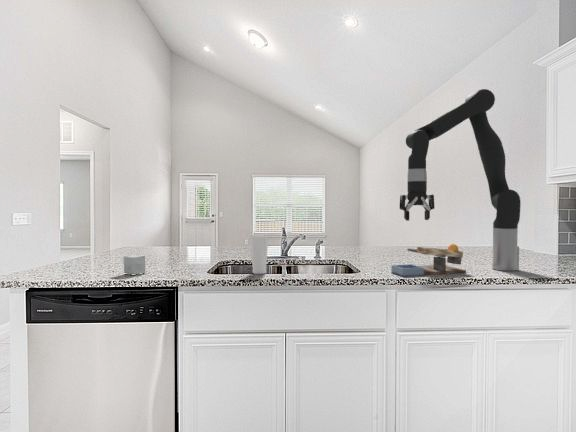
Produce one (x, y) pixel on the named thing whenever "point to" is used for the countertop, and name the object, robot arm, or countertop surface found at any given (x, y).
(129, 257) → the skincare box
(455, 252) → the lever
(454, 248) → the ball
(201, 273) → the countertop surface
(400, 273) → the tray
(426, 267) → the lever stand
